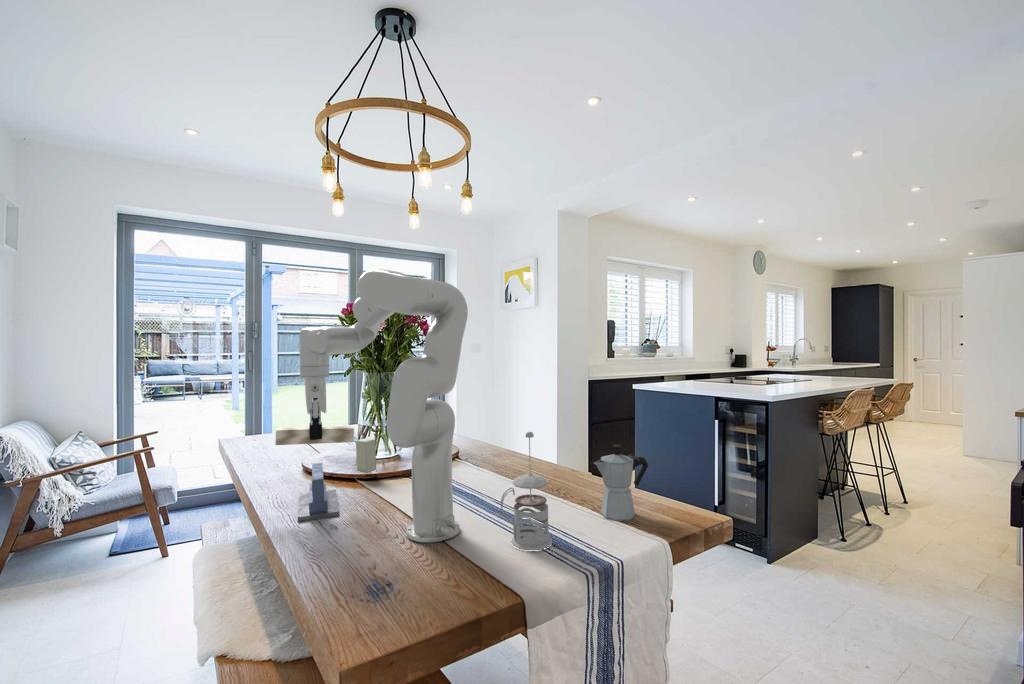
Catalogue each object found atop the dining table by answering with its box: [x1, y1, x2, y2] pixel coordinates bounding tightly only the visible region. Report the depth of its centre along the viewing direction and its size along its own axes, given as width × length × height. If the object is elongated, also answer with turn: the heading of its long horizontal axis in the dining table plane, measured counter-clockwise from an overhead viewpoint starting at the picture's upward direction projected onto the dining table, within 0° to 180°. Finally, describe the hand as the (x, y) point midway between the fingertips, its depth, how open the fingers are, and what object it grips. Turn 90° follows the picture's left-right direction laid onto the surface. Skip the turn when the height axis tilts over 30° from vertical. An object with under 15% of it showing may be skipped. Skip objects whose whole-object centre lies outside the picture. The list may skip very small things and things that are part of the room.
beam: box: [274, 425, 355, 446], centre depth 134 cm, size 20×3×4 cm, turn 112°
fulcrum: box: [297, 462, 340, 523], centre depth 134 cm, size 20×10×10 cm, turn 22°
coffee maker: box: [593, 444, 649, 522], centre depth 124 cm, size 15×9×18 cm, turn 102°
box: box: [355, 438, 377, 473], centre depth 161 cm, size 5×4×13 cm
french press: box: [500, 431, 553, 550], centre depth 108 cm, size 10×12×25 cm
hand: (315, 437), depth 134 cm, fingers closed on beam, 3 cm apart
